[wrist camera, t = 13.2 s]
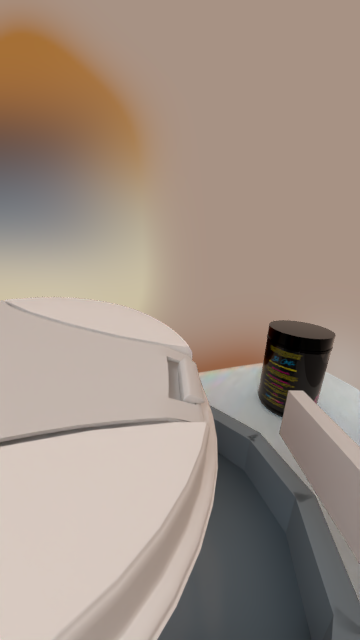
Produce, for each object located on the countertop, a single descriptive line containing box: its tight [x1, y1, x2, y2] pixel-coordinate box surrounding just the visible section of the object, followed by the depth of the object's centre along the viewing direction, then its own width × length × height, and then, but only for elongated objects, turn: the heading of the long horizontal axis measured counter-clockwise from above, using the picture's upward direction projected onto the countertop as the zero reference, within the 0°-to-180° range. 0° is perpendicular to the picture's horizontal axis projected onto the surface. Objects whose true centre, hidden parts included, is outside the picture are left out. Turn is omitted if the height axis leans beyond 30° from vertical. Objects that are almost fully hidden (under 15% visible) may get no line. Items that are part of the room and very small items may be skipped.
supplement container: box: [258, 320, 335, 417], centre depth 25 cm, size 7×7×10 cm
